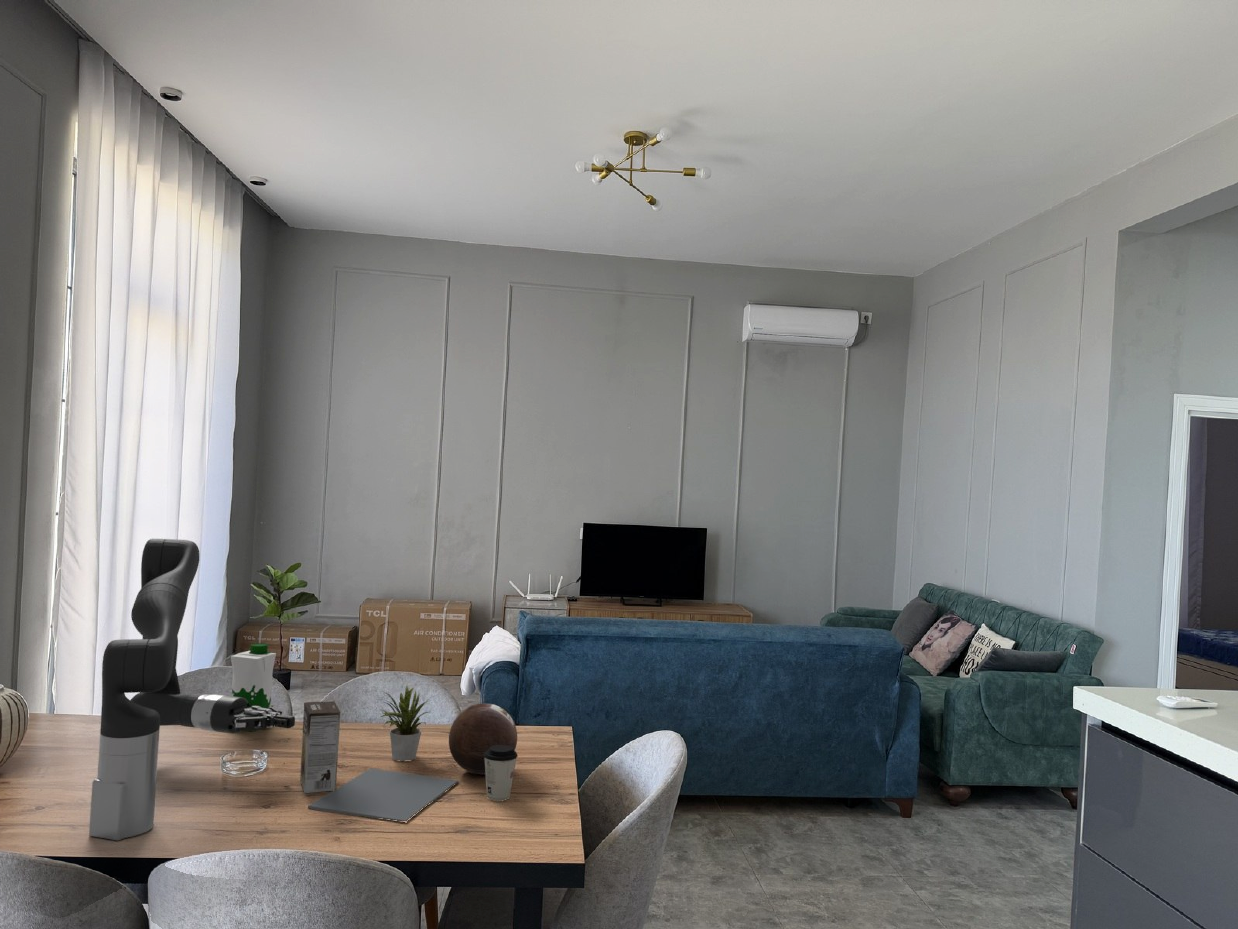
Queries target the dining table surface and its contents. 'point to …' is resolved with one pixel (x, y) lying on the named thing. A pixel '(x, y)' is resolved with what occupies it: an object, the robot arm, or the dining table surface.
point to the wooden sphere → (480, 735)
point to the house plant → (404, 727)
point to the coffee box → (320, 746)
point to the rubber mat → (384, 795)
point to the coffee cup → (499, 771)
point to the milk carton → (253, 675)
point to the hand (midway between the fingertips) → (292, 722)
